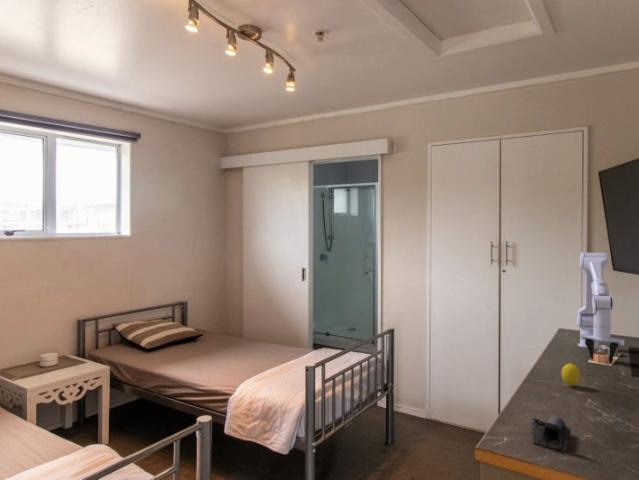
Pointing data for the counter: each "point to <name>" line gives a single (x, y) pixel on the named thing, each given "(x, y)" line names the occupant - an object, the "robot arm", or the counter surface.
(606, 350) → the board
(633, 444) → the counter surface
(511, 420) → the counter surface
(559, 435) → the black camera
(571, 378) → the lemon
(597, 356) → the gear
